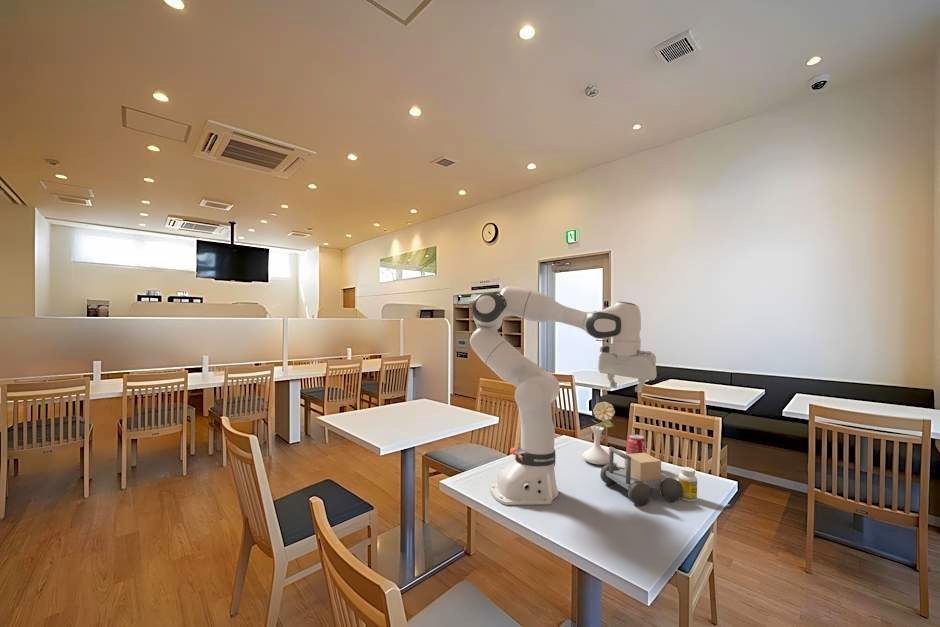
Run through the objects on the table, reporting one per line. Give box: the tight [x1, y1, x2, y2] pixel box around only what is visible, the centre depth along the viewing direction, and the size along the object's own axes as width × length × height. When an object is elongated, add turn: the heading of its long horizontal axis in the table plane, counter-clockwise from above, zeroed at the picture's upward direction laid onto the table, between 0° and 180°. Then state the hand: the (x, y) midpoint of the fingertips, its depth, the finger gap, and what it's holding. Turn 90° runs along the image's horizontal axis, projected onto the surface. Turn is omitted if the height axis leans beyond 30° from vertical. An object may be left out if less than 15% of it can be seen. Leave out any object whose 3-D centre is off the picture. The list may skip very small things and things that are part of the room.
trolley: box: [600, 446, 683, 507], centre depth 133 cm, size 19×17×14 cm
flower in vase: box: [582, 401, 616, 466], centre depth 160 cm, size 13×11×25 cm
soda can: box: [625, 433, 647, 454], centre depth 156 cm, size 7×7×12 cm
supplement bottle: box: [678, 466, 698, 502], centre depth 129 cm, size 5×5×10 cm
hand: (625, 389), depth 135 cm, fingers open, 8 cm apart
